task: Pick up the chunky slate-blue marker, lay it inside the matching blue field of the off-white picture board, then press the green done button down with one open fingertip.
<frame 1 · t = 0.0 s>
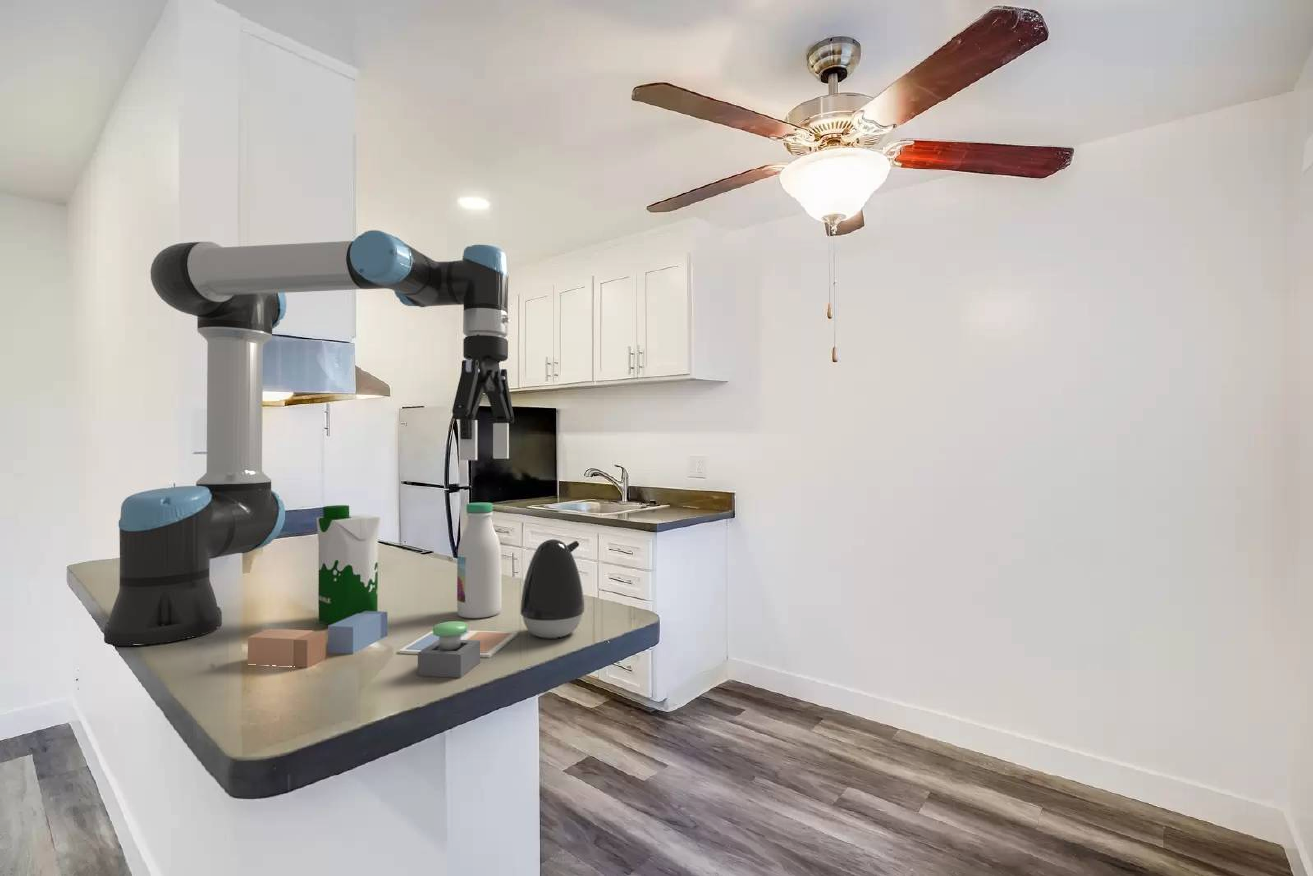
hand: (485, 459, 109), 28 cm above the counter, tool pointing down, fingers open, 13 cm apart
milk bottle: (479, 614, 114), on the counter
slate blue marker: (359, 644, 97), on the counter
picture board: (460, 643, 96), on the counter
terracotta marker: (287, 662, 88), on the counter
done button: (449, 636, 86), point 4 cm above the counter, slide at 0.0 cm
button housing: (449, 668, 86), on the counter
milk carton: (348, 621, 110), on the counter
pump dispenser: (553, 635, 102), on the counter
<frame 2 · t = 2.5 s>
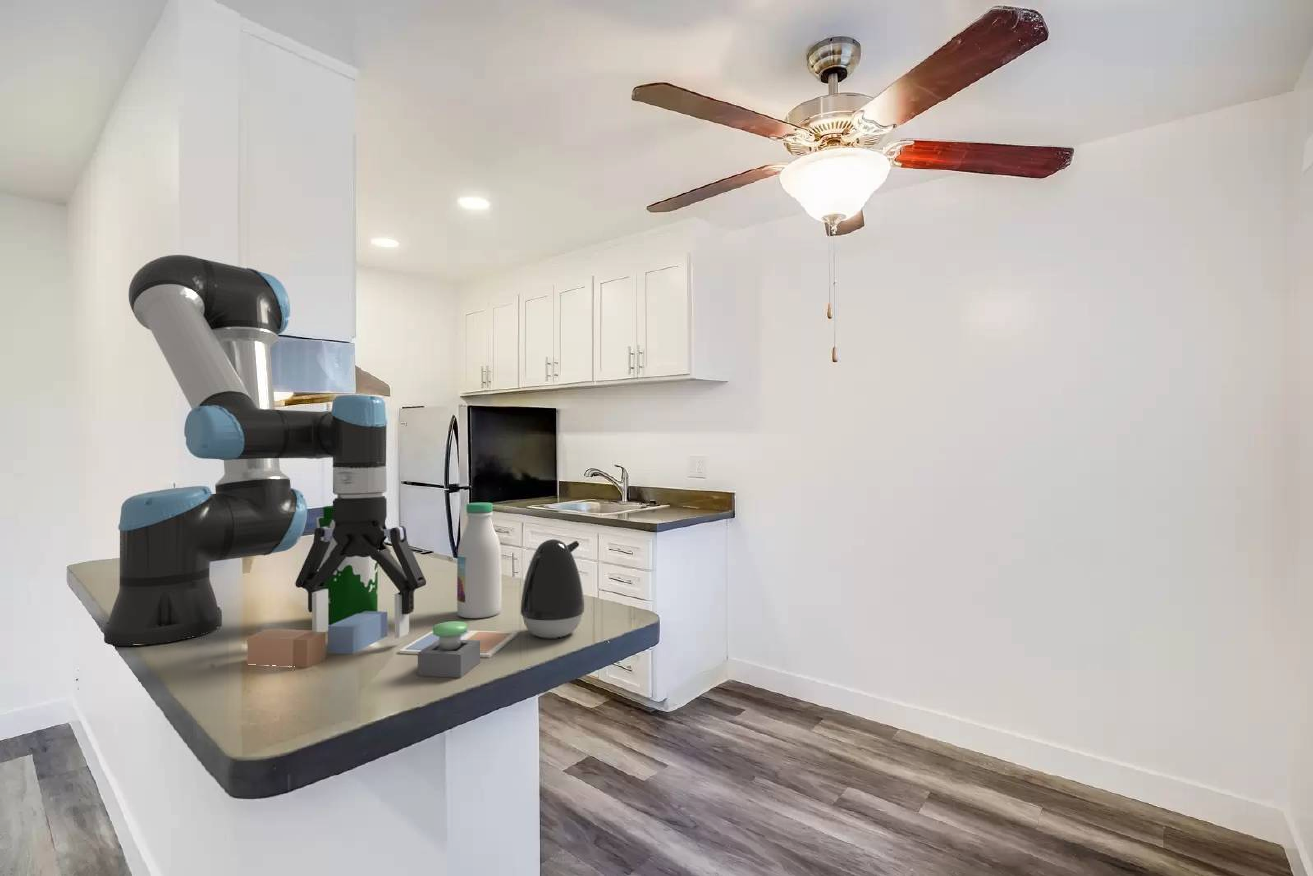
hand: (360, 634, 96), 1 cm above the counter, tool pointing down, fingers open, 13 cm apart
nothing on the counter moved.
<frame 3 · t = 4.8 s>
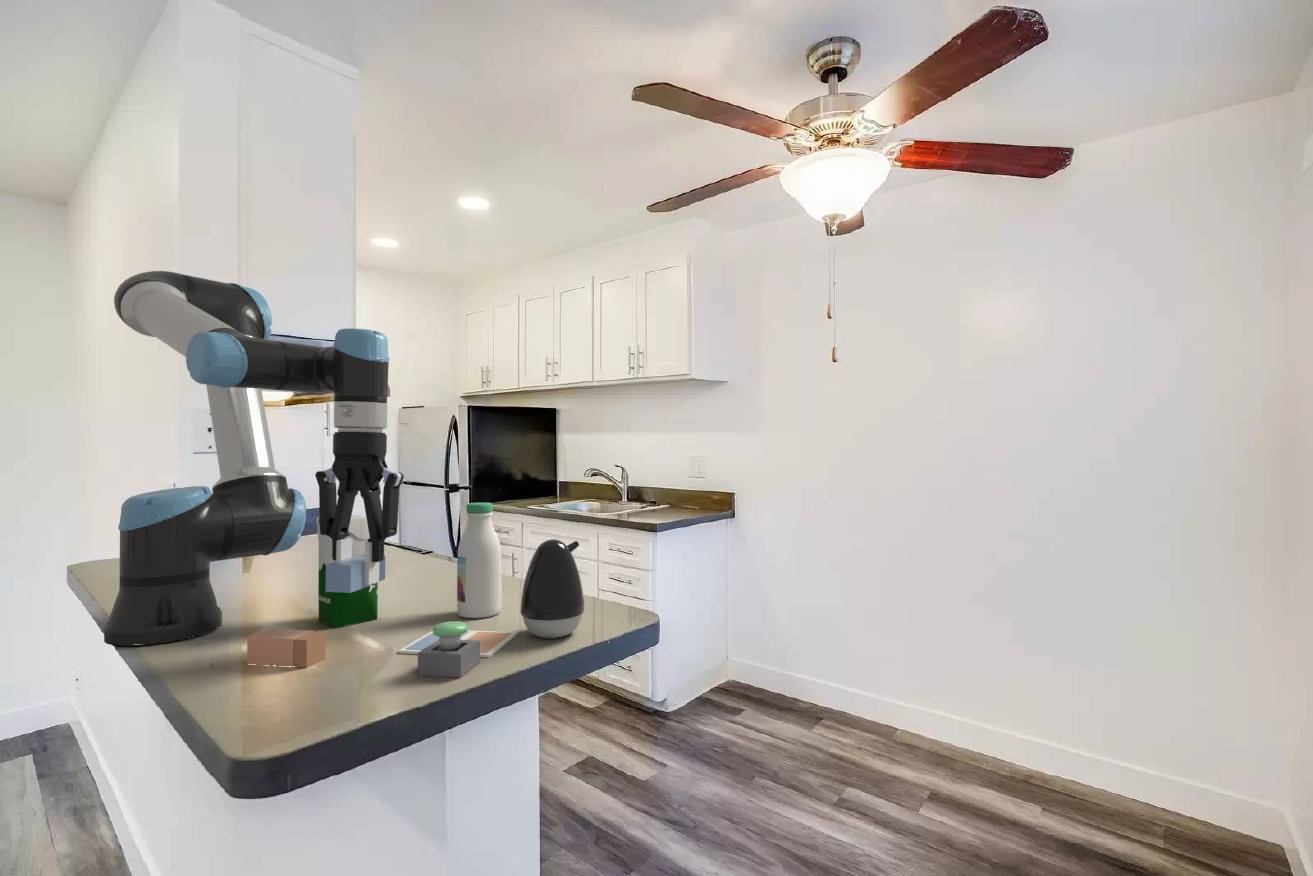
hand: (357, 581, 97), 9 cm above the counter, tool pointing down, fingers closed on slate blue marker, 4 cm apart
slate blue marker: (356, 585, 97), point 9 cm above the counter, touching gripper
everything else where it was.
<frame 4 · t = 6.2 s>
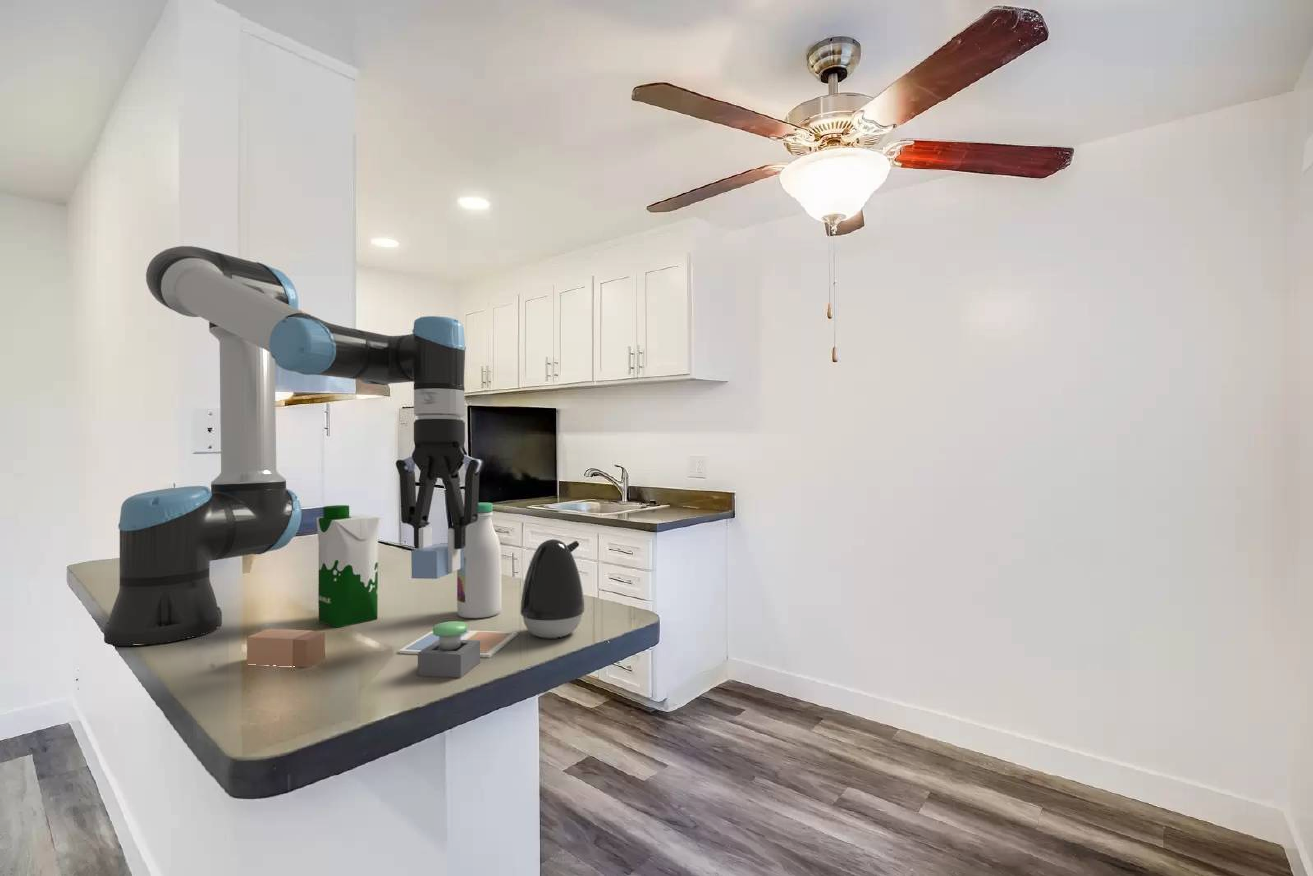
hand: (439, 569, 97), 11 cm above the counter, tool pointing down, fingers closed on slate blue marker, 4 cm apart
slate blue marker: (439, 572, 97), point 11 cm above the counter, touching gripper
everything else where it was.
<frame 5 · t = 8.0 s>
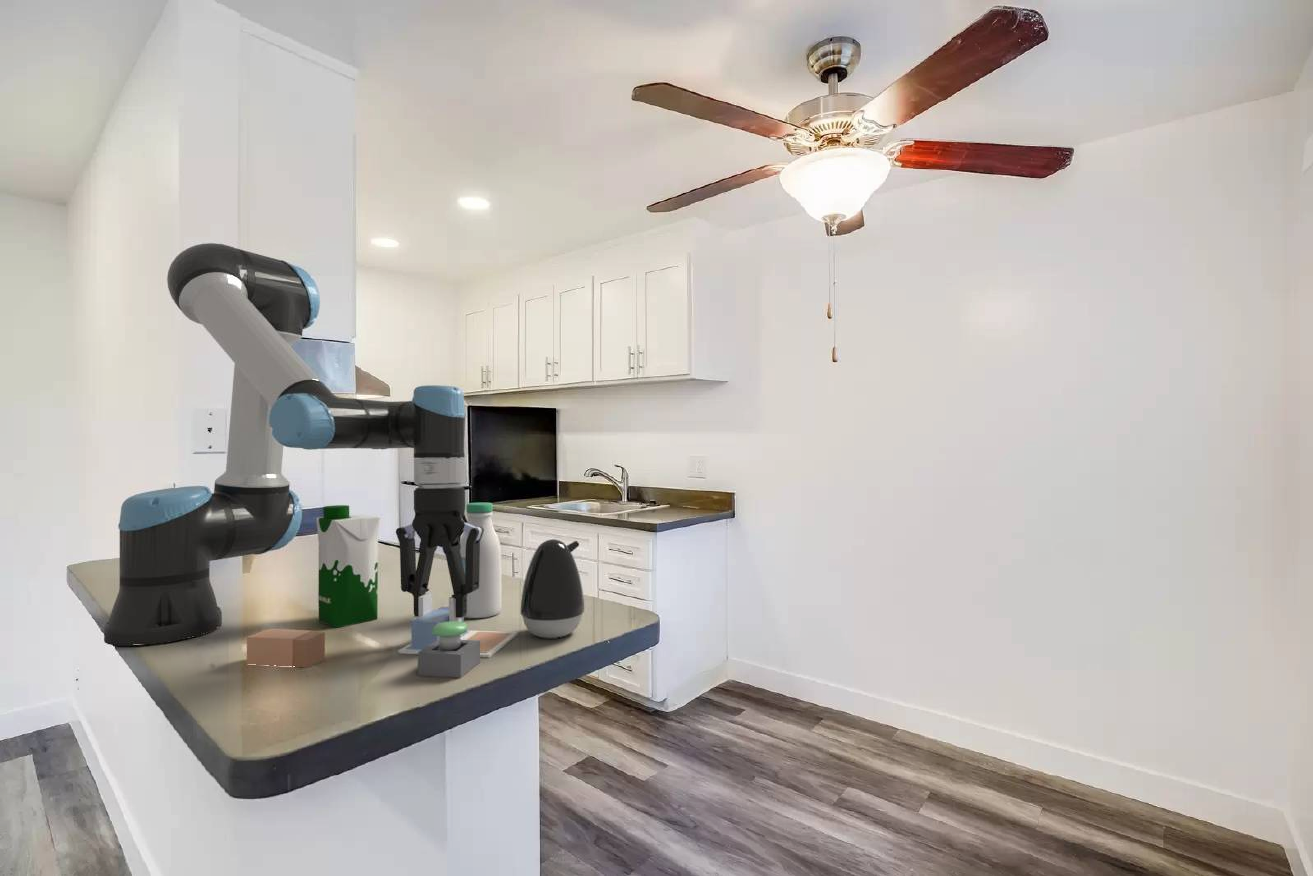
hand: (440, 637, 97), 1 cm above the counter, tool pointing down, fingers closed on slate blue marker, 4 cm apart
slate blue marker: (439, 640, 97), resting on picture board, touching gripper
everything else where it was.
when the fingers open (1 cm above the counter, at t = 8.1 s): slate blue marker stays where it is, resting on picture board.
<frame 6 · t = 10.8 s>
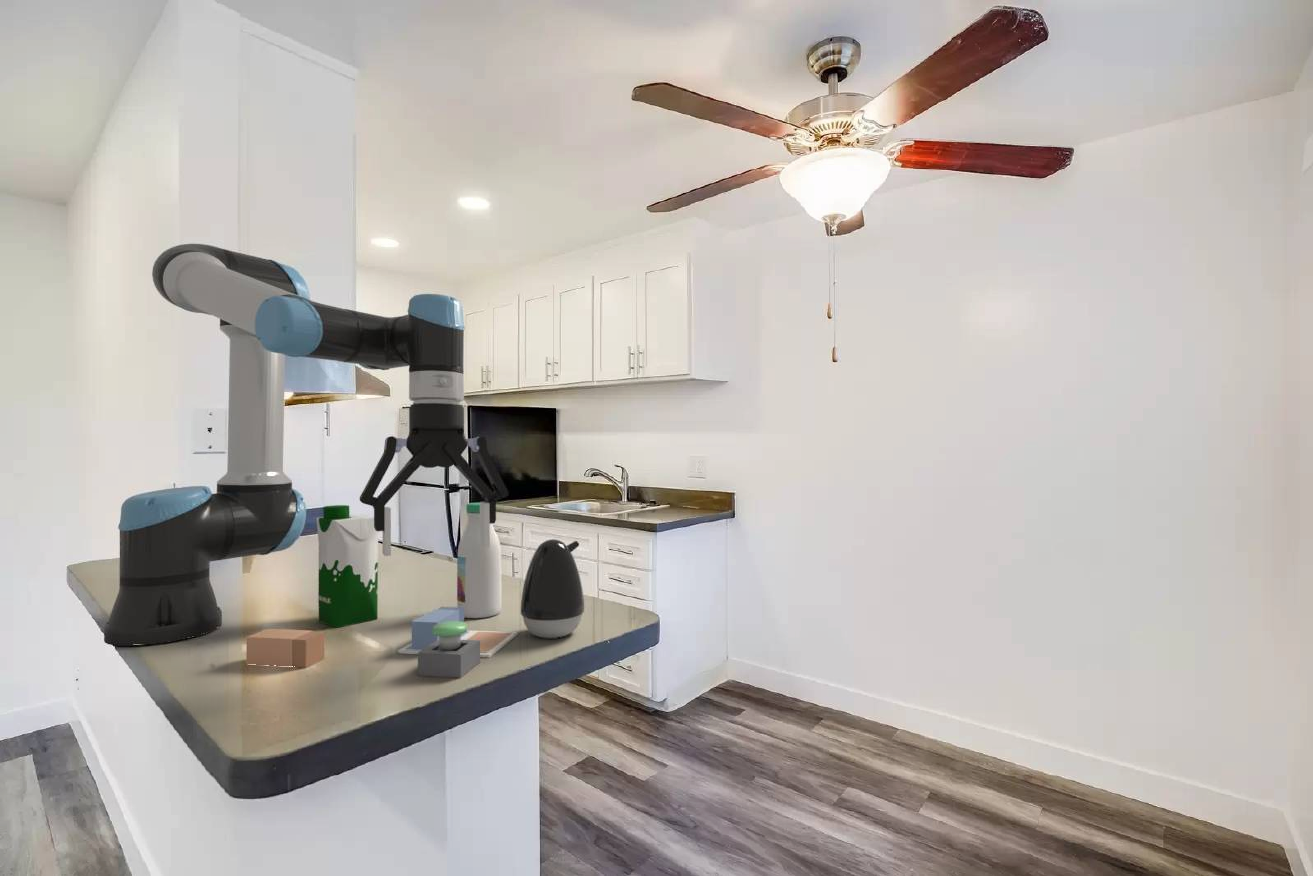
hand: (437, 550, 91), 15 cm above the counter, tool pointing down, fingers open, 13 cm apart
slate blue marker: (439, 640, 97), resting on picture board
everything else where it was.
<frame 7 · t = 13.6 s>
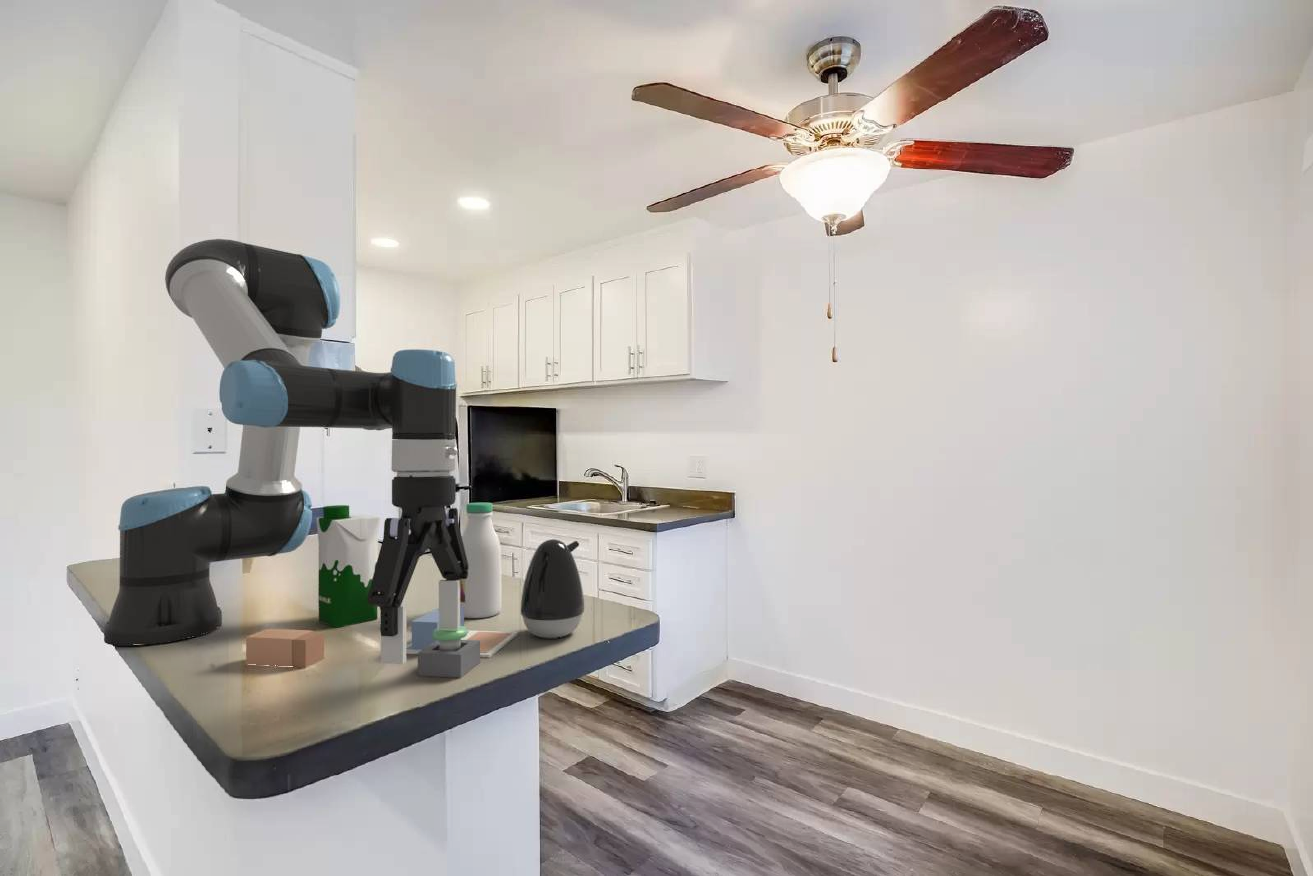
hand: (423, 644, 79), 5 cm above the counter, tool pointing down, fingers open, 13 cm apart
done button: (449, 640, 86), point 4 cm above the counter, slide at 0.6 cm, touching gripper
everything else where it was.
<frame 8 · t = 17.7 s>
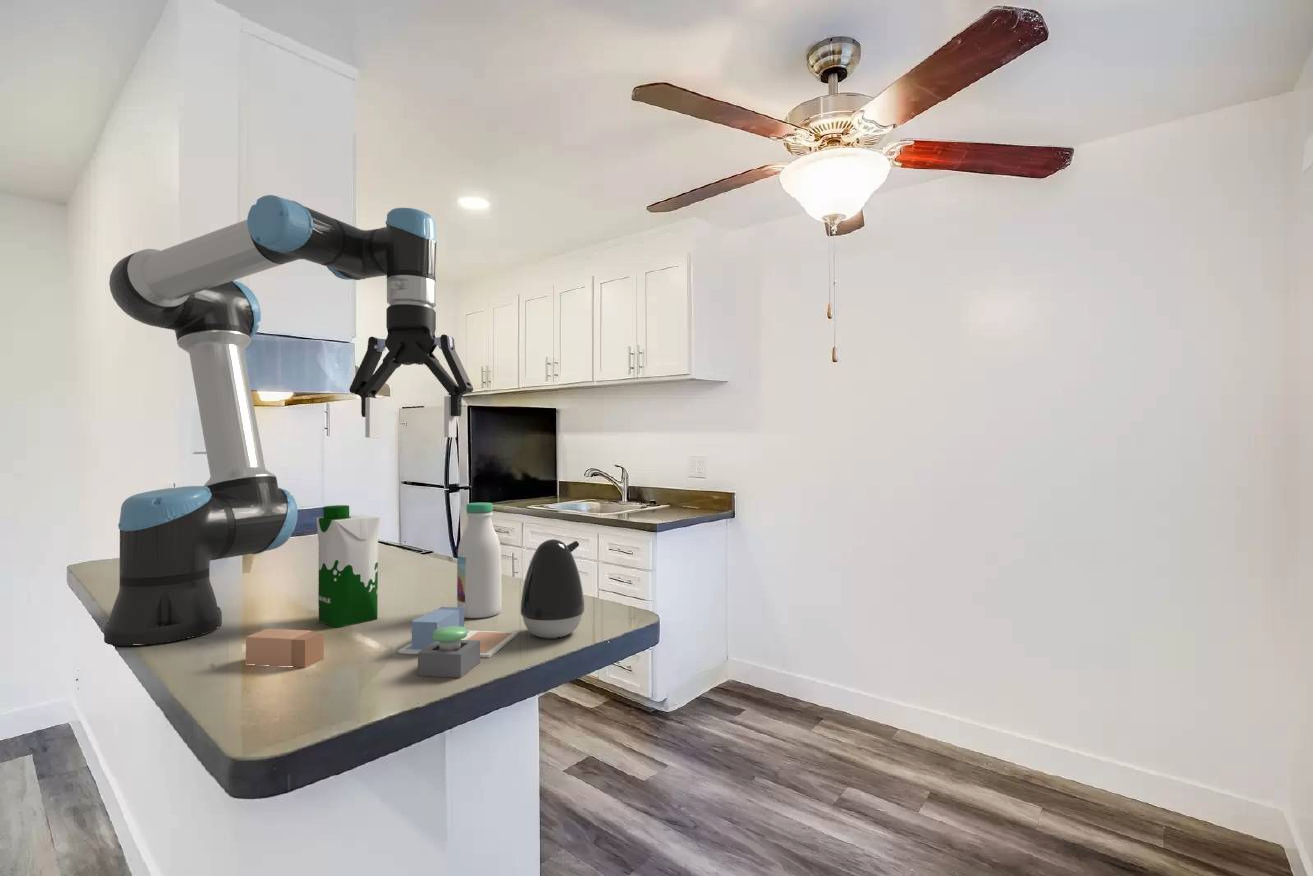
hand: (411, 437, 102), 32 cm above the counter, tool pointing down, fingers open, 13 cm apart
done button: (449, 641, 86), point 4 cm above the counter, slide at 0.7 cm
everything else where it was.
at the end: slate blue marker 0.4 cm from the target spot, point 0.5 cm above the counter; done button slide at 0.7 cm; the gripper is holding nothing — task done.
